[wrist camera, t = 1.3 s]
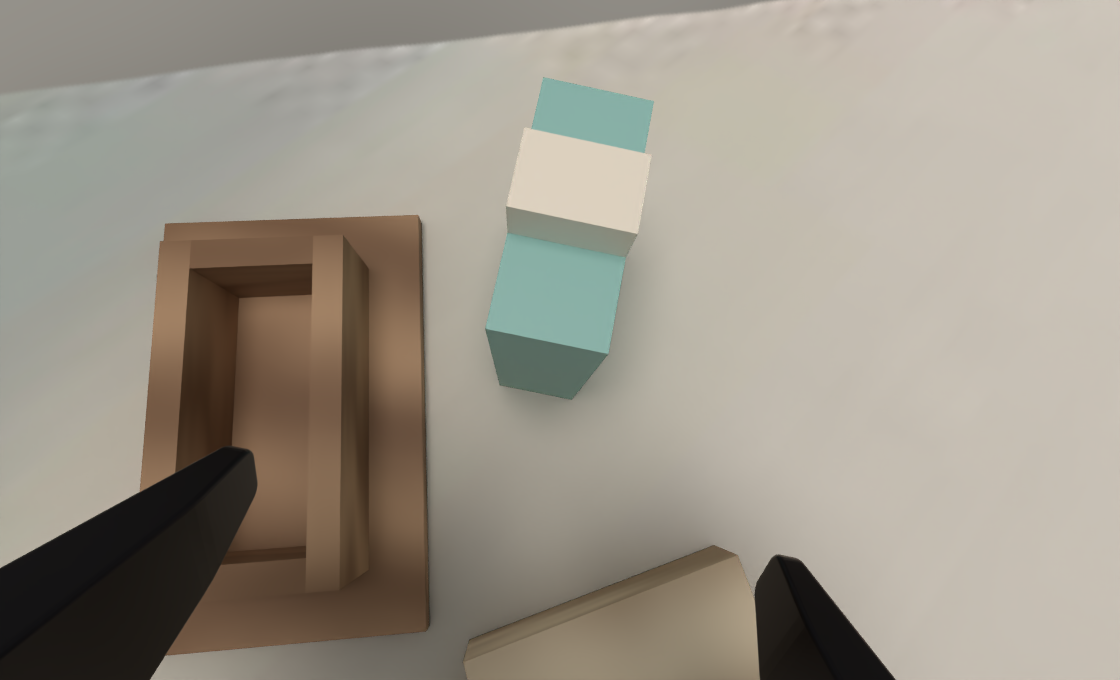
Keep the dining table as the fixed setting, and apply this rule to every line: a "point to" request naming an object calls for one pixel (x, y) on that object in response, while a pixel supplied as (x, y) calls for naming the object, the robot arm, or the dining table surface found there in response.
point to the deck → (635, 630)
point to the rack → (299, 420)
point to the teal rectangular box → (568, 236)
